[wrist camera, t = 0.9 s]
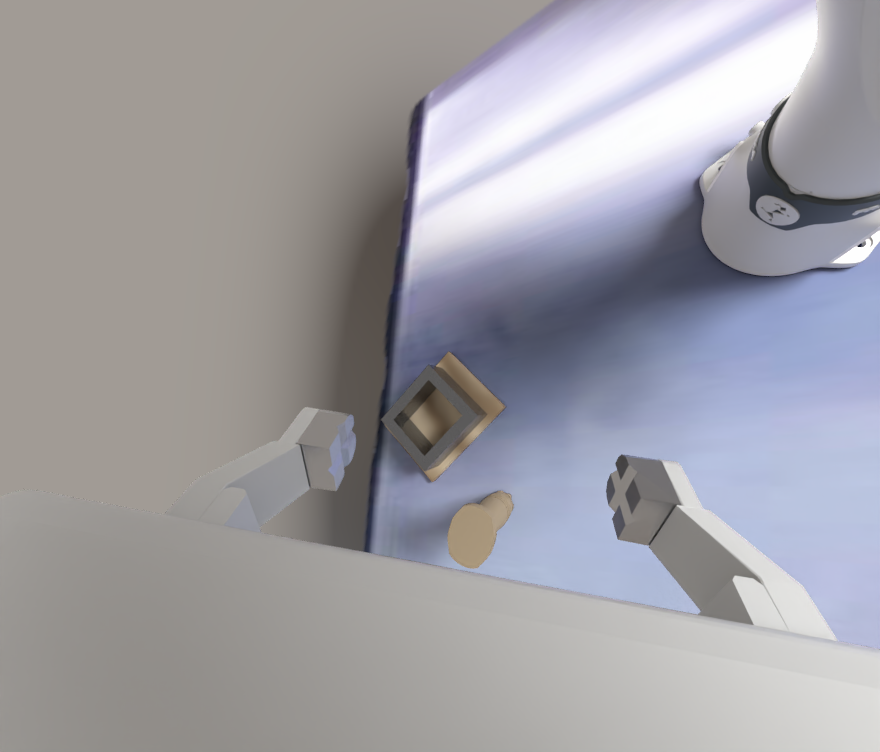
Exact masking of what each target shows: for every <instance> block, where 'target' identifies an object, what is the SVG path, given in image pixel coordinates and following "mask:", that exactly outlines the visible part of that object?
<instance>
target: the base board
mask: <svg viewBox="0 0 880 752" xmlns="http://www.w3.org/2000/svg"><path fill="white" fill-rule="evenodd" d="M436 367H441V368H443V369H444V370H445V371H446V372H447V373H448V374H449V375H450V376H451V377H452V378H453V379H454V380H455V381H456V382H457V383H458V384H459V386H460V387H461V388H462V389H463V390H464V391H465V392H466V393H467V394H468V395H469V396H470V397H471V398H472V399H473V400H474V401H475V402H476V403H477V404H478V405H479V406H480V407H481V408H482V409H483V410H484V411H485V412H486V413H487V414H488V415H487V416H486V417H485V418H484V419H483V420H482V421H481V422H480V423H479V424H478V425H477V426H476V427H475V428H474V429H473V431H472V432H471V433H470V434H469V435H468V436H467V437H466V438H465V439H464V440H463V441H462V442H461V443H460V444H459V445H458V446H457V447H456V448H455V449H454V450H453V451H452V452H451V454H450V455H449V456H448V457H447V458H446V459H445V460H444V461H443V462H442V463H441V464H440V465H439V466H437V467H435V468H432V469H430V470H427V471H425V472H424V471H423V469H422V468H421V467H420V466H419V465H418V463H417V462H416V461H415V460H414V459H413V457H412V456H411V455H410V454H409V453H408V451H407V450H406V449H405V448H404V447H403V445H402V444H401V443H400V442H399V441H398V440H397V441H398V442H399V443H400V444H401V445H402V447H403V448H404V449H405V450H406V451H407V453H408V454H409V455H410V456H411V457H412V459H413V460H414V461H415V462H416V463H417V465H418V466H419V467H420V468H421V469H422V471H423V472H424V473H425V474H426V475H427V476H428V478H429V479H430V480H431V481H432V482H434V481H435V480H436V479H437V478H438V477H439V476H440V475H441V474H442V473H443V472H444V471H445V470H446V469H447V468H448V467H449V466H450V465H451V464H452V463H453V462H454V461H455V460H456V459H457V457H458V456H459V455H460V454H461V453H462V452H463V451H464V450H465V449H466V448H467V447H468V446H469V445H470V444H471V443H472V442H473V441H474V440H475V439H476V438H477V437H478V436H479V435H480V434H481V433H482V432H483V431H484V429H485V428H486V427H487V426H488V425H489V424H490V423H491V422H492V421H493V420H494V419H495V418H496V417H497V416H498V415H499V414H500V413H501V412H502V411H503V410H504V409H505V408H506V406H505V405H504V404H503V403H502V402H501V401H500V400H499V399H498V398H497V397H496V396H495V395H494V394H493V393H492V392H491V391H490V390H489V389H488V388H487V387H485V386H484V385H483V384H482V383H481V382H480V381H479V380H478V379H477V378H476V377H475V376H474V375H473V374H472V373H471V372H470V371H469V370H468V369H467V368H466V367H465V366H464V365H463V364H462V363H461V362H460V361H459V360H458V359H457V358H456V357H455V356H454V355H453V354H452V353H451V352H448V353H447V354H446V355H445V356H444V357H443V358H442V360H441V361H440V362H439V363H438V364H437V365H436ZM461 416H462V414H461V413H460V412H459V411H458V410H457V409H456V408H455V407H454V406H453V405H452V404H451V403H450V402H449V401H448V400H447V399H446V397H445V396H444V395H443V394H442V393H441V392H440V391H439V390H438V389H437V388H436V389H435V391H434V392H433V393H432V394H431V395H430V396H429V397H428V398H427V400H426V401H425V402H424V403H423V404H422V405H421V406H420V407H419V408H418V410H417V411H416V412H415V413H414V414H413V415H412V416H411V417H410V420H411V421H412V422H413V423H414V424H415V425H416V427H417V428H418V429H419V430H420V431H421V432H422V433H423V435H424V436H425V437H426V438H427V439H428V440H429V441H430V443H431V444H432V445H433V446H434V445H435V444H436V443H437V442H438V441H439V440H440V439H441V438H442V437H443V436H444V435H445V433H446V432H447V431H448V430H449V429H450V428H451V427H452V426H453V425H454V424H455V423H456V422H457V421H458V420H459V418H460V417H461ZM385 426H386V425H385ZM386 427H387V426H386ZM387 429H388V428H387ZM388 430H389V429H388ZM389 431H390V430H389ZM390 432H391V431H390ZM391 433H392V432H391ZM392 435H393V434H392ZM393 436H394V435H393ZM394 437H395V436H394ZM395 438H396V437H395ZM396 439H397V438H396Z"/></svg>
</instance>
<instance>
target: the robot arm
mask: <svg viewBox="0 0 880 752" xmlns="http://www.w3.org/2000/svg"><path fill="white" fill-rule="evenodd" d="M816 6H817V15H818V32H817V40H816V45H815V48H814V51H813V53H812V56H811V58H810V60H809V62H808V64H807V66H806V68H805V70H804V72H803V74H802V76H801V78H800V80H799V81H798V83H797V85H796V87H795V89H794V91H793V92H791V93H789V94H788V95H786V96H785V97H784V98H783V99H782V100H781V101H780V102H779V103H778V104H777V105H776V106H775V108H774V109H773V110H772V112H771V117H770V118H769V120H767V122H766V123H764V122H763V121H760V122H758V123H757V124H756V125H755V126H754V127H753V128H752V129H751V130H750V131H749V133H748V134H749V135H750V136H749V137H748V138H746V139H745V140H744V141H741V142H739V143H738V144H737V145H736V146H735V147H734V148H733V149H732V150H731V151H729V152H728V153H727V154H725V155H724V156H723V157H722V158H720V159H719V160H718V161H716V162H715V163H714V164H712V165H711V166H710V167H709V168H707V169H706V170H705V171H704V173H703V174H702V176H701V177H700V181H699V183H700V188H701V192H702V195H703V197H704V208H703V214H702V233H703V236H704V239H705V242H706V244H707V246H708V247H709V249H710V250H711V251H712V253H713V254H714V255H715V256H716V257H717V258H718V259H719V260H721V261H722V262H723V263H725V264H726V265H728V266H730V267H732V268H734V269H736V270H739V271H742V272H745V273H749V274H753V275H761V276H780V275H788V274H793V273H798V272H801V271H805V270H809V269H813V268H818V267H828V268H848V267H853V266H856V265H858V264H860V263H861V262H862V261H864V260H865V259H866V258H867V257H868V256H869V255H870V253H871V252H872V251H873V249H874V248H875V247H876V245H877V244H878V243H879V241H880V0H816ZM719 169H720V171H719ZM859 244H862V247H861V248H860V247H857V246H858V245H859ZM353 425H354V418H353V416H352V415H351V414H346V413H340V412H335V411H328V410H323V409H315V408H309V407H306V408H304V409H302V411H301V412H300V413H299V415H298V416H297V417H296V419H295V420H294V421H293V422H292V424H291V425H290V426H289V428H288V429H287V430H286V432H285V433H284V434H283V436H282V437H281V438H280V440H279V441H272V442H270V443H268V444H266V445H264V446H262V447H260V448H258V449H256V450H254V451H252V452H250V453H248V454H246V455H244V456H242V457H240V458H238V459H236V460H234V461H232V462H230V463H228V464H226V465H223V466H221V467H220V468H217V469H216V470H213V471H211V472H209V473H207V474H205V475H203V476H201V477H199V478H197V479H196V480H195V481H194V482H193V483H192V484H191V485H190V486H189V487H188V488H187V489H186V491H185V492H184V493H183V494H182V495H181V496H180V497H179V498H178V499H177V500H176V502H175V503H174V504H173V505H172V506H171V507H170V508H169V509H168V510H167V511H166V512H165V514H159V513H154V512H149V511H143V510H138V509H133V508H127V507H122V506H117V505H111V504H106V503H101V502H95V501H90V500H85V499H79V498H74V497H69V496H64V495H59V494H55V493H50V492H45V491H38V490H20V491H15V492H12V493H8V494H5V495H2V496H0V752H880V649H878V648H872V647H867V646H862V645H856V644H851V643H846V642H840V641H838V640H837V639H836V637H835V635H834V634H833V632H832V631H831V629H830V628H829V626H828V625H827V623H826V621H825V620H824V618H823V617H822V615H821V614H820V612H819V610H818V609H817V607H816V606H815V604H814V603H813V601H812V600H811V598H810V596H809V595H808V593H807V592H806V590H805V589H804V587H803V586H802V585H801V584H800V583H798V582H797V581H796V580H795V579H793V578H792V577H791V576H790V575H788V574H787V573H786V572H785V571H784V570H782V569H781V568H780V567H779V566H777V565H776V564H775V563H774V562H772V561H771V560H770V559H769V558H768V557H766V556H765V555H764V554H763V553H761V552H760V551H759V550H758V549H756V548H755V547H754V546H753V545H752V544H750V543H749V542H748V541H747V540H745V539H744V538H743V537H742V536H740V535H739V534H738V533H737V532H736V531H734V530H733V529H732V528H731V527H729V526H728V525H727V524H726V523H725V522H723V521H722V520H721V519H720V518H718V517H717V516H716V515H715V514H713V513H712V512H711V511H710V510H705V509H703V507H702V505H701V503H700V501H699V499H698V498H697V496H696V494H695V492H694V490H693V488H692V486H691V484H690V482H689V480H688V478H687V476H686V474H685V473H684V471H683V469H682V467H681V465H680V464H679V463H678V462H674V461H667V460H659V459H658V460H656V459H650V458H643V457H636V456H629V455H621V456H620V457H618V459H617V462H616V467H617V471H615V472H613V473H612V474H610V477H609V479H608V482H607V489H606V493H607V500H608V505H609V506H610V507H611V508H612V509H613V510H614V512H615V514H614V516H613V518H612V520H613V524H614V527H615V531H616V535H617V538H618V540H623V541H628V542H633V543H638V544H643V545H648V546H649V548H650V549H651V550H652V552H653V553H654V554H655V555H656V557H657V558H658V559H659V560H660V561H661V563H662V564H663V565H664V566H665V568H666V569H667V570H668V571H669V572H670V574H671V575H672V576H673V577H674V579H675V580H676V581H677V582H678V584H679V585H680V586H681V587H682V588H683V590H684V591H685V592H686V593H687V595H688V596H689V597H690V598H691V599H692V601H693V602H694V603H695V604H696V606H697V607H698V608H699V609H700V611H701V612H700V613H699V614H698V615H697V614H692V613H686V612H681V611H676V610H670V609H665V608H660V607H654V606H649V605H644V604H639V603H633V602H628V601H623V600H617V599H612V598H607V597H601V596H596V595H591V594H585V593H580V592H574V591H569V590H564V589H558V588H553V587H548V586H542V585H537V584H532V583H526V582H521V581H515V580H510V579H505V578H499V577H494V576H489V575H484V574H478V573H473V572H468V571H462V570H457V569H452V568H447V567H441V566H436V565H431V564H425V563H420V562H415V561H410V560H404V559H399V558H394V557H388V556H383V555H378V554H372V553H367V552H362V551H356V550H351V549H346V548H340V547H335V546H330V545H324V544H319V543H314V542H308V541H303V540H298V539H293V538H287V537H282V536H277V535H271V534H266V533H261V530H260V527H261V526H262V525H263V524H264V523H266V522H267V521H269V520H270V519H271V518H272V517H274V516H275V515H276V514H278V513H279V512H280V511H281V510H283V509H284V508H285V507H287V506H288V505H289V504H291V503H292V502H293V501H295V500H296V499H297V498H298V497H300V496H301V495H302V494H304V493H305V492H306V491H307V490H309V487H311V488H318V489H325V490H332V491H337V489H338V487H339V485H340V483H341V481H342V479H343V476H344V467H345V466H347V465H348V464H350V462H351V460H352V458H353V455H354V451H355V447H356V436H355V434H354V433H353V431H352V430H351V429H352V428H353Z"/></svg>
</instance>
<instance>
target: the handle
mask: <svg viewBox="0 0 880 752" xmlns="http://www.w3.org/2000/svg"><path fill="white" fill-rule="evenodd" d="M513 507H514V504H513V503H512V500H511V495H510V494H509V493H508V494H507V493H504V492H503V491H497V493H493V494H491V495H489V496H487V497H486V498H485V499H484V500H482V501H481V503H480V504H476V503H468V504H465V505H464V506H463V507H462V508H461V509H460V510H459V511H458V512H457V513H456V514H455V516H454V517H453V518H452V521H451V524H450V527H449V531H448V547H449V554H450V555H451V557H452V558H453V559H454V560H455V561H456V562H457V563H459V564H460V565H462V566H464V567H467V568H478V567H479V566H480V565H481V564H482V563H483V562H484V561H485V560H486V559H487V557H488V556H489V555H490V553H491V552H492V550H493V547H494V544H495V540H496V535H497V534H496V532H497V531H498V530H499V529H500V528H501V527H502V526H503V525H504V524H505V523H506V521H507V520H508V518H509V516H510V514H511V512H512V510H513Z"/></svg>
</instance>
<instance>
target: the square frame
mask: <svg viewBox="0 0 880 752" xmlns="http://www.w3.org/2000/svg"><path fill="white" fill-rule="evenodd" d="M436 388H437V389H438V390H439V391H440V392H441V393H442V394H443V395H444V396H445V397H446V399H447V400H448V401H449V402H450V403H451V404H452V405H453V406H454V407H455V408H456V409H457V410H458V411H459V412H460V413H461V414H462V416H461V417H460V418H459V420H458V421H457V422H456V423H455V424H454V425H453V426H452V427H451V428H450V429H449V430H448V431H447V432H446V433H445V435H444V436H443V437H442V438H441V439H440V440H439V441H438V442H437V443H436V444H435V445H434V446H433V445H432V444H431V443H430V441H429V440H428V439H427V438H426V437H425V436H424V435H423V433H422V432H421V431H420V430H419V429H418V428H417V427H416V425H415V424H414V423H413V422H412V421H411V420H410V417H411V416H412V415H413V414H414V413H415V412H416V411H417V410H418V408H419V407H420V406H421V405H422V404H423V403H424V402H425V401H426V400H427V398H428V397H429V396H430V395H431V394H432V393H433V392H434V391H435V389H436ZM487 415H488V414H487V413H486V412H485V411H484V410H483V409H482V408H481V407H480V406H479V405H478V404H477V403H476V402H475V401H474V400H473V399H472V398H471V397H470V396H469V395H468V394H467V393H466V392H465V391H464V390H463V389H462V388H461V387H460V386H459V384H458V383H457V382H456V381H455V380H454V379H453V378H452V377H451V376H450V375H449V374H448V373H447V372H446V371H445V370H444V369H443V368H441V367H436V366H432V365H428V366H427V367H426V368H425V370H424V371H423V372H422V373H421V374H420V375H419V376H418V378H417V379H416V380H415V381H414V382H413V383H412V384H411V386H410V387H409V388H408V389H407V390H406V391H405V393H404V394H403V395H402V396H401V397H400V398H399V399H398V401H397V402H396V403H395V404H394V405H393V406H392V408H391V409H390V410H389V411H388V412H387V413H386V414H385V416H384V417H383V418H382V419H381V420H382V422H383V423H384V424H385V425H386V426H387V428H388V429H389V430H390V431H391V432H392V434H393V435H394V436H395V437H396V438H397V440H398V441H399V442H400V443H401V444H402V445H403V447H404V448H405V449H406V450H407V451H408V453H409V454H410V455H411V456H412V457H413V459H414V460H415V461H416V462H417V463H418V465H419V466H420V467H421V468H422V469H423V471H424V472H425V471H427V470H430V469H432V468H435V467H437V466H439V465H440V464H441V463H442V462H443V461H444V460H445V459H446V458H447V457H448V456H449V455H450V454H451V452H452V451H453V450H454V449H455V448H456V447H457V446H458V445H459V444H460V443H461V442H462V441H463V440H464V439H465V438H466V437H467V436H468V435H469V434H470V433H471V432H472V431H473V429H474V428H475V427H476V426H477V425H478V424H479V423H480V422H481V421H482V420H483V419H484V418H485V417H486V416H487Z"/></svg>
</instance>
